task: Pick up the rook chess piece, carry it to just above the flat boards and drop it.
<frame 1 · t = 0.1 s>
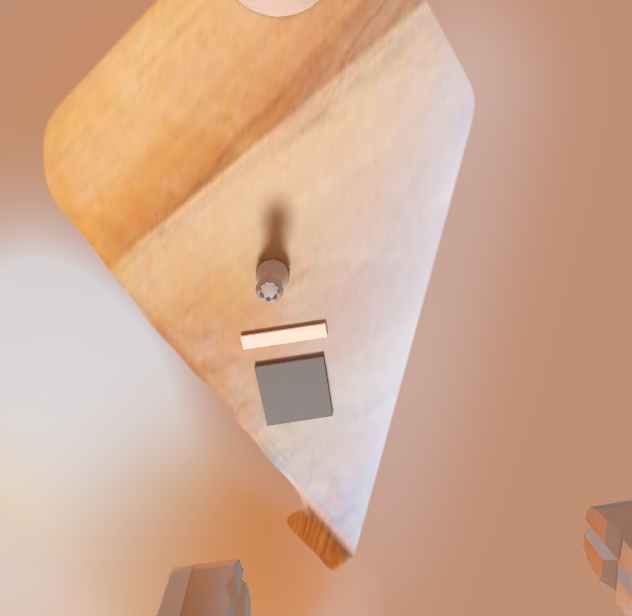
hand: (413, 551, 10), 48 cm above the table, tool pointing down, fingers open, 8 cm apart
rook chess piece: (272, 274, 57), on the table
flat boards: (290, 366, 61), on the table
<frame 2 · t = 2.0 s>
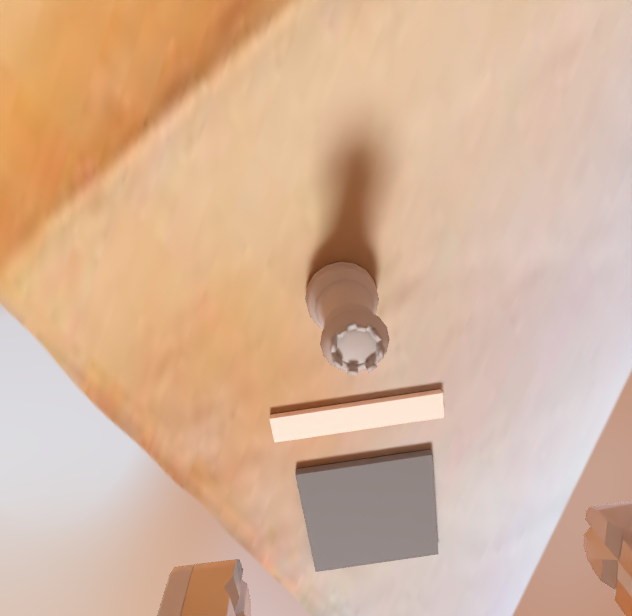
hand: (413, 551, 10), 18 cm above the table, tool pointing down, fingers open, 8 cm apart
rook chess piece: (340, 293, 27), on the table
flat boards: (364, 469, 31), on the table
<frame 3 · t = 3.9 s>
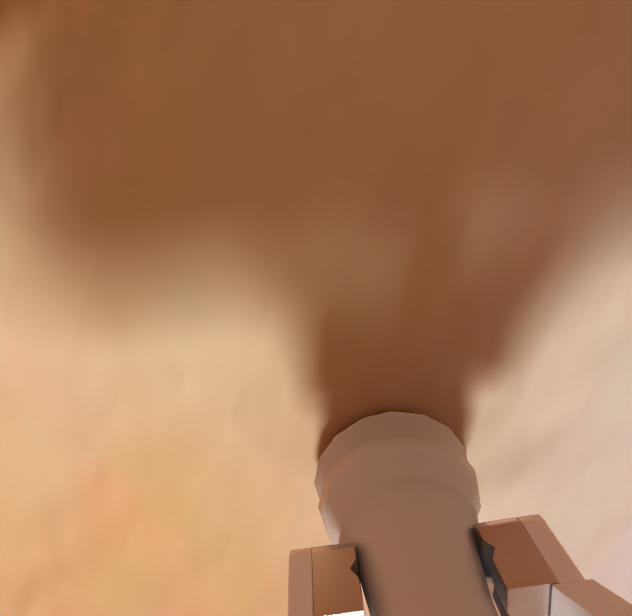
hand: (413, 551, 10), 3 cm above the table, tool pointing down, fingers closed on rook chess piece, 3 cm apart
rook chess piece: (387, 461, 13), on the table, touching gripper
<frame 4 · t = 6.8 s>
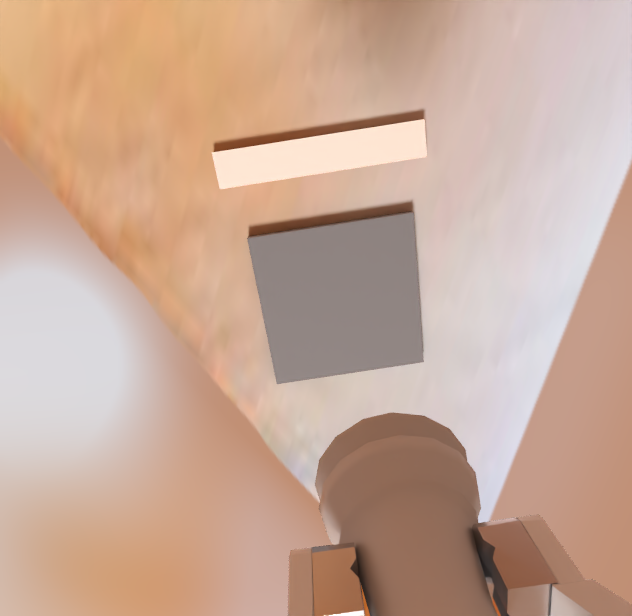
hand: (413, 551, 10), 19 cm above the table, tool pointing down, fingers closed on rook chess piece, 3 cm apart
rook chess piece: (387, 462, 13), point 15 cm above the table, touching gripper
flat boards: (331, 240, 26), on the table
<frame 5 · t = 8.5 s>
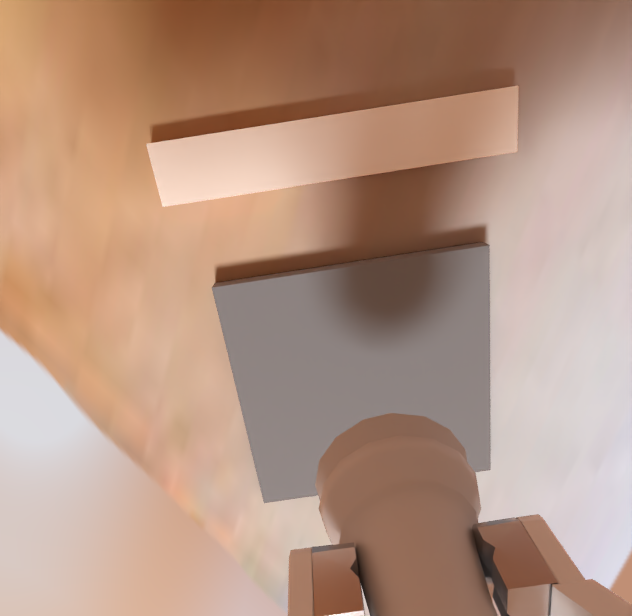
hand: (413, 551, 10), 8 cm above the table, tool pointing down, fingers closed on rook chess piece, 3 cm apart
rook chess piece: (387, 463, 13), point 5 cm above the table, touching gripper
flat boards: (351, 288, 16), on the table
when the fingers open (5 cm above the table, at t = 9.8 s): rook chess piece drops 2 cm, resting on flat boards.
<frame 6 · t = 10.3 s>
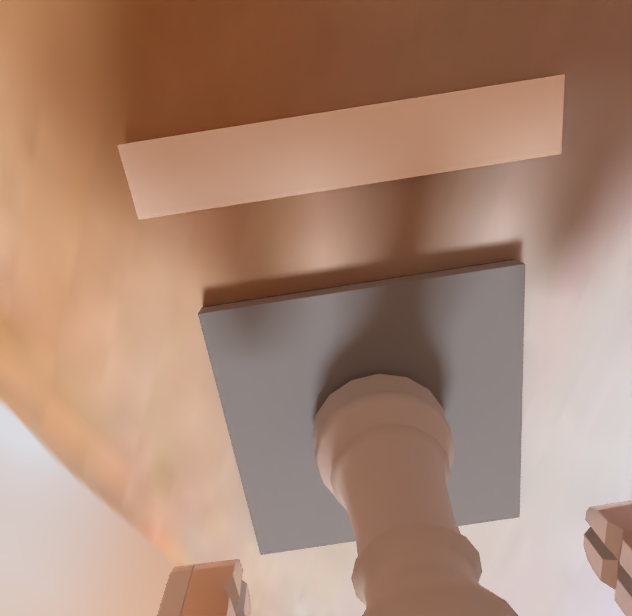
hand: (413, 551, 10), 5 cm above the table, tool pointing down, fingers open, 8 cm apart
rook chess piece: (376, 422, 15), resting on flat boards
flat boards: (361, 312, 14), on the table
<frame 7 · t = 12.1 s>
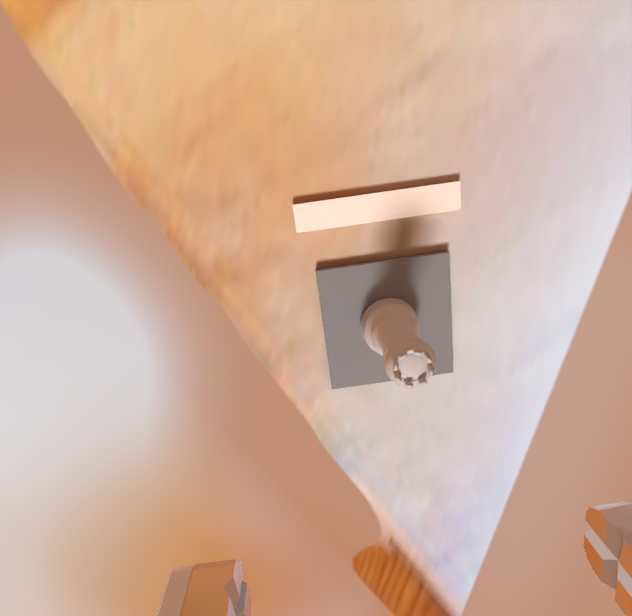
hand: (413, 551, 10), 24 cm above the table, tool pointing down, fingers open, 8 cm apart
rook chess piece: (387, 322, 33), resting on flat boards
flat boards: (382, 273, 32), on the table
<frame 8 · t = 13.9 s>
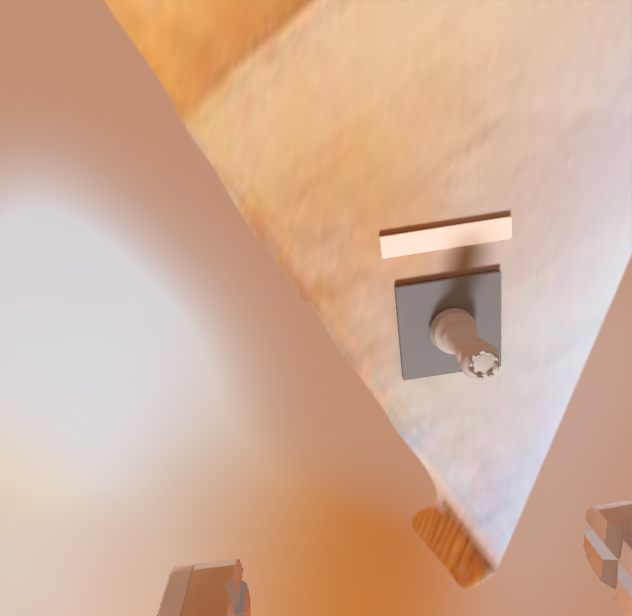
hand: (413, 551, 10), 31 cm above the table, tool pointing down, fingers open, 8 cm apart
rook chess piece: (449, 326, 42), resting on flat boards
flat boards: (446, 288, 41), on the table
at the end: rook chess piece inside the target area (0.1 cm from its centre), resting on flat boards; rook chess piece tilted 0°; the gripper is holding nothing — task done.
